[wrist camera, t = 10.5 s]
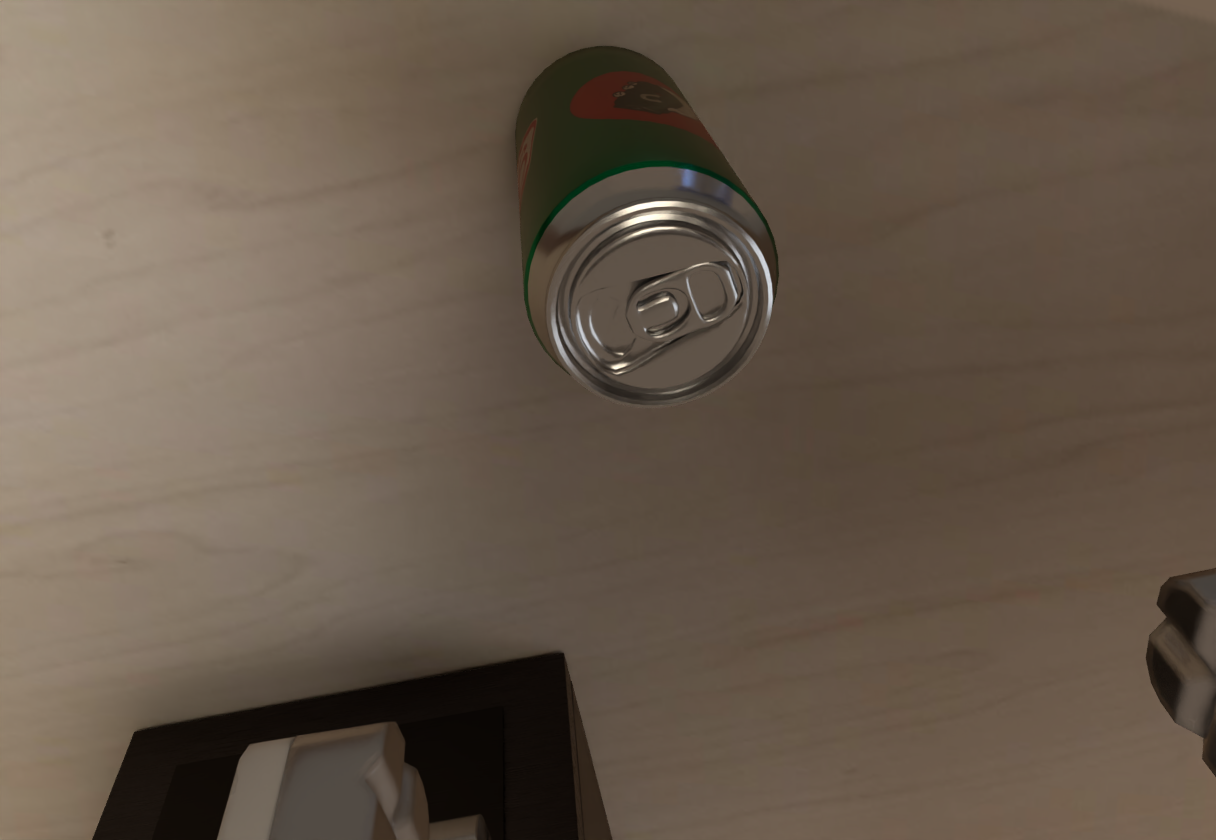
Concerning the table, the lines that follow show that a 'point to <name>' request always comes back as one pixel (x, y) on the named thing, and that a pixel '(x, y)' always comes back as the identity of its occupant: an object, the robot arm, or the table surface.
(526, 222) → the soda can
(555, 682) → the oven door
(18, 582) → the table surface
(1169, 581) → the robot arm
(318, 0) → the table surface
